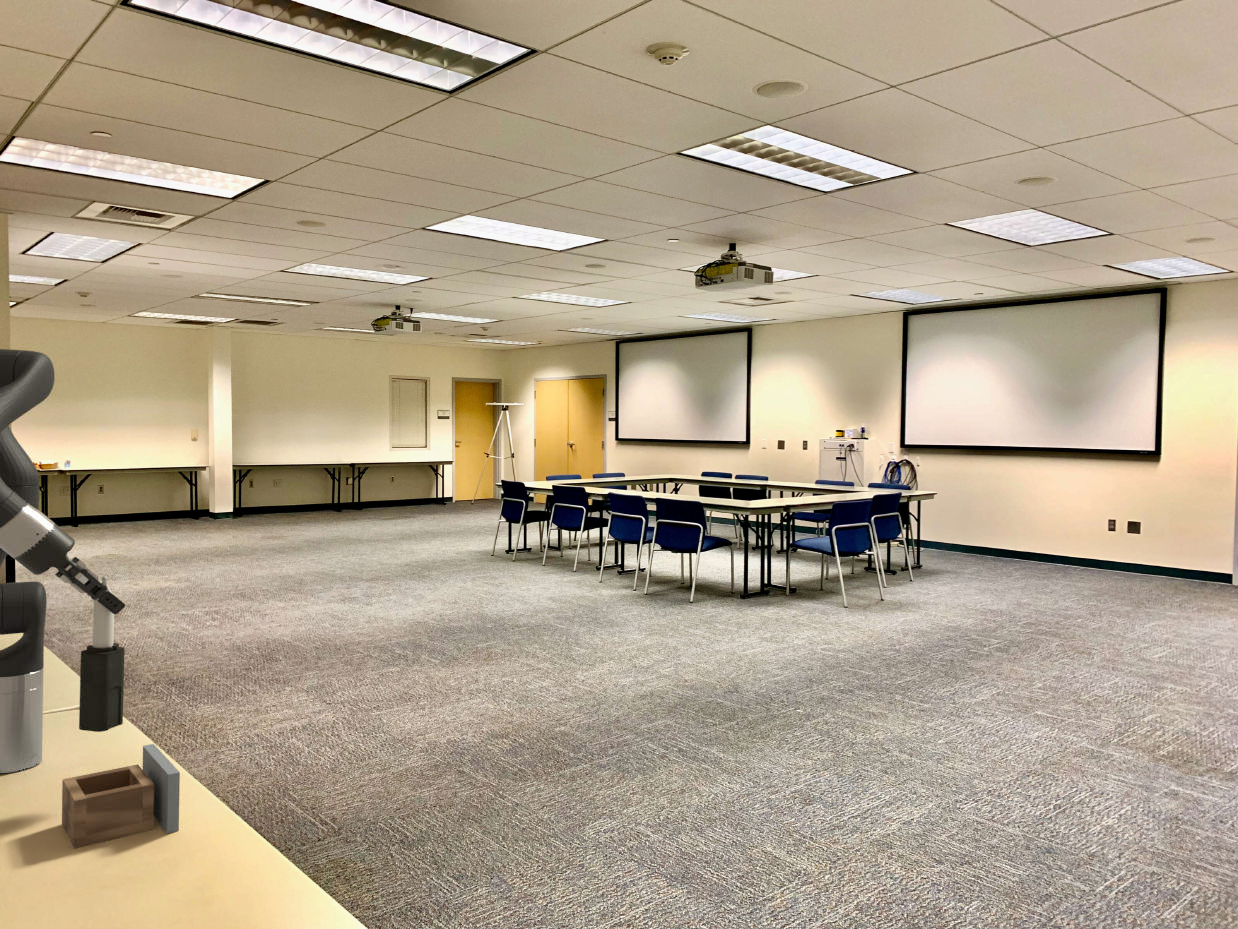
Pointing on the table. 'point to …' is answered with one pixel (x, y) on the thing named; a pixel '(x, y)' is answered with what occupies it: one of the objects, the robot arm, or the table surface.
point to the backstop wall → (163, 787)
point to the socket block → (107, 805)
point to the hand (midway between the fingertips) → (117, 608)
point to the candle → (101, 675)
